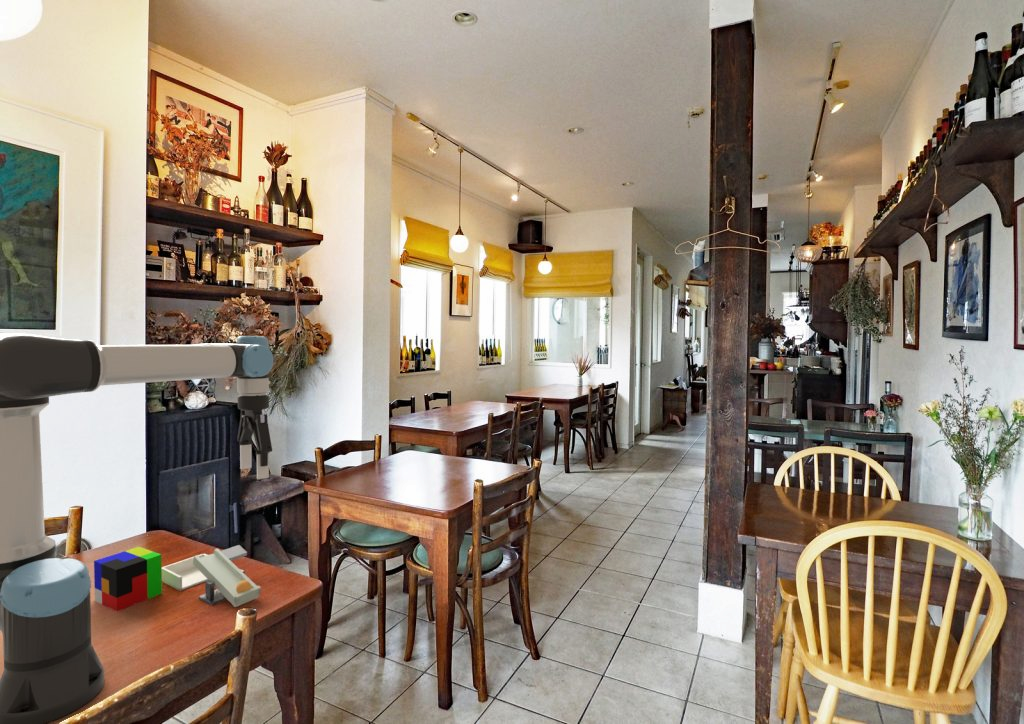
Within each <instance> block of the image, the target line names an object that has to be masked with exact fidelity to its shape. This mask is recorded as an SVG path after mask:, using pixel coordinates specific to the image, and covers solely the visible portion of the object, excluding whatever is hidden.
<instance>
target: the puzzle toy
mask: <svg viewBox="0 0 1024 724" xmlns="http://www.w3.org/2000/svg"><path fill="white" fill-rule="evenodd" d="M162 565H163V564H162V554H161V553H158V552H156V551H152V550H150V549H147V548H144V547H141V546H136V547H134V548H130V549H128V550H125V551H121V552H118V553H116V554H112V555H109V556H105V557H102V558H97V559H96V560H93V573H94V576H93V577H94V581H93V582H94V583H93V584H94V602H96V603H98V604H100V605H103V606H104V607H106V608H109V609H111V610H114V611H115V612H119V611H122V610H125V609H127V608H130V607H132V606H135V605H137V604H139V603H142V602H144V601H147V600H149V599H151V598H154V597H156V596H159V595H162V594H163V588H162V587H163V584H162V583H163V582H162V567H163V566H162Z"/></svg>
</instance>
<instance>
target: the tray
mask: <svg viewBox="0 0 1024 724" xmlns="http://www.w3.org/2000/svg"><path fill="white" fill-rule="evenodd" d="M197 555H198V556H199V557H200V558H201V557H204V556H207V555H208V553H207V554H206V553H205V552H204V553H201V554H197ZM193 559H194V556H192V557H188V558H185V559H183V560H180V561H177V562H174V563H171V564H168V565H164V566H162V583H164V584H165V585H168V586H170V587H172V588H174V589H175V590H177V591H179V592H182V591H184V590H186V589H190V588H191V587H195V586H197V585H199V584H200V585H201V584H202V583H205V582H207V581H209V580H208V579H207V578H206V577H205V576H204V575H203V574H202V573H201V572H200V571H199V570H198V569H197V568H196V566H195V565H194V564H193Z"/></svg>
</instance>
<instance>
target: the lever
mask: <svg viewBox="0 0 1024 724" xmlns="http://www.w3.org/2000/svg"><path fill="white" fill-rule="evenodd" d="M198 555H199V554H196V555H194V556H193V557H194V559H193V564H194V565H195V566H196V568H197V569H198V570H199V571H200V572H201V573H202V574H203V575H204V576H205V577H206V578H207V579H208V581H212V582H214V588H216V589H218V590H219V591H220V592H221V593H222V594H223V595H224V596H225V597H226V598H227V600H226V601H228V602H229V603H231V605H232V606H233V608H237V607H240V606H241V605H244V604H246V603H249V602H251V601H253V600H255V599H258V598H260V595H261V594H260V593H261V589H262V587H261V586H260V585H257V584H256V583H255V582H254V581H252V580H251V578H250V577H248V576H247V574H246V573H245V574H244V573H243V572H242V571H241V570H240V569H241V568H239V567H238V566H236V564H234V563H233V561H235V560H238V559H241V558H243V557H247V555H248V551H246V549H244V548H243V547H242V546H241V545H240V544H238V545H237V544H236V545H234V546H232V547H229V548H226V549H222V550H221V549H219V548H214V551H213V553H211V554H207V556H204V557H201V558H200V557H199V556H198ZM244 580H246V581H248V582H250V584H251V589H250V590H247V591H245V592H242V593H240V594H238V593H237V591H236V587H237V585H238V583H239V582H241V581H244Z"/></svg>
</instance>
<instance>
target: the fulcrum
mask: <svg viewBox="0 0 1024 724" xmlns="http://www.w3.org/2000/svg"><path fill="white" fill-rule="evenodd" d="M239 569H240V570H241V571H242V572H243V573H244V574H245V575H246V573H245V572H246V571H245V570H243V569H241V568H239ZM204 583H205V590H204V591H205V593H204V594H202V595H200V596H198V600H200V601H202V602H204V603H206V604H207V605H210V606H211V607H212V606H214V605H217V604H221V603H222V602H225V601H228V600H227V598H226V597H225V596H224V595H223V594H222V593H221V592H220V591H219V590H218V589H217V588H216V589H215V586H214V582H212V581H209V580H208V581H205V582H204Z"/></svg>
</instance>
